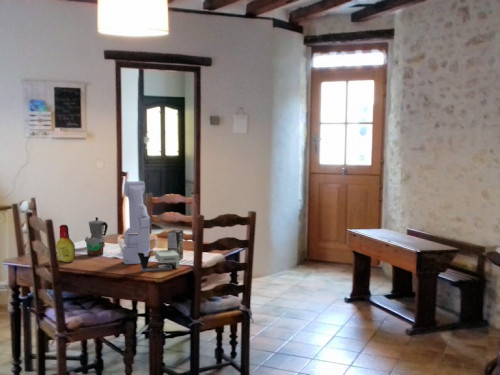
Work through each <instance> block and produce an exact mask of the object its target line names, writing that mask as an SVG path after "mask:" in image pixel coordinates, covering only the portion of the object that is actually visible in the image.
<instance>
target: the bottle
mask: <svg viewBox="0 0 500 375" xmlns="http://www.w3.org/2000/svg"><path fill="white" fill-rule="evenodd" d="M69 232H70V231H69V227H68V225H67V224H61V225H60V226H59V239H58V241H57V242H56V245H55V251H56V250H57V254H56V257H57V256H58V261H59V262H60V261H61V262H64V263H71V262H73V261H75V259H76V245H75V244H74V242H73V240H71V238H70V234H69Z"/></svg>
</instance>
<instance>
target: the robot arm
mask: <svg viewBox="0 0 500 375" xmlns="http://www.w3.org/2000/svg"><path fill="white" fill-rule="evenodd" d="M145 191H146V183H145V182H144V181H143V180H137V181H135V180H134V181H133V180H132V181H130V180H129V181H127V180H126V181H125V182H124V196H125V197H126V198H128V214H129V215H128V216H129V228H128V229H126V230H125V232H124V238H123V240H124V241H123V243H124V245H125V246H123V247H122V248H123V253H122V254H123V255H122V256H123V257H122V261H123V263H124V265H134V264H137V265H138V264H140V268H141V269H142V268H143V269H144V268H147V269H148V263H149V260H150V258H151V254H150V252H152V251H153V249H152V248H151V245H150V244H151V243H150V242H151V238H150V237H151V234H150V230H151V229H152V219H151V217H150V215H149V213H148V209H147V208H148V207H147V206H146V205H145V204H144V197H143V195H144V193H145ZM141 264H142V265H141Z"/></svg>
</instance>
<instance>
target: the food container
mask: <svg viewBox="0 0 500 375" xmlns="http://www.w3.org/2000/svg"><path fill="white" fill-rule="evenodd" d="M105 241H106V240H105V237H103V238H101V239H98V238H91V237H89V236H85V238H84V242H85V243H86V244H85V245H86V246H85V247H86V253H87V254H86V256H89V257H101V256H103V255H104V248H105V246H104V243H105Z"/></svg>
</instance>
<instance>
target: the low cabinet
mask: <svg viewBox="0 0 500 375" xmlns="http://www.w3.org/2000/svg"><path fill="white" fill-rule="evenodd" d="M154 258H155V259H156V261H157V262H158V263H159V264H164V263H166V264H167V263H168V262H169V263H170V264H171V265H172V267H173V268H175V269H180V261H179V255H178V254H177V253H176V252H175V251H174V250H168V249H163V250H154Z"/></svg>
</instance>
